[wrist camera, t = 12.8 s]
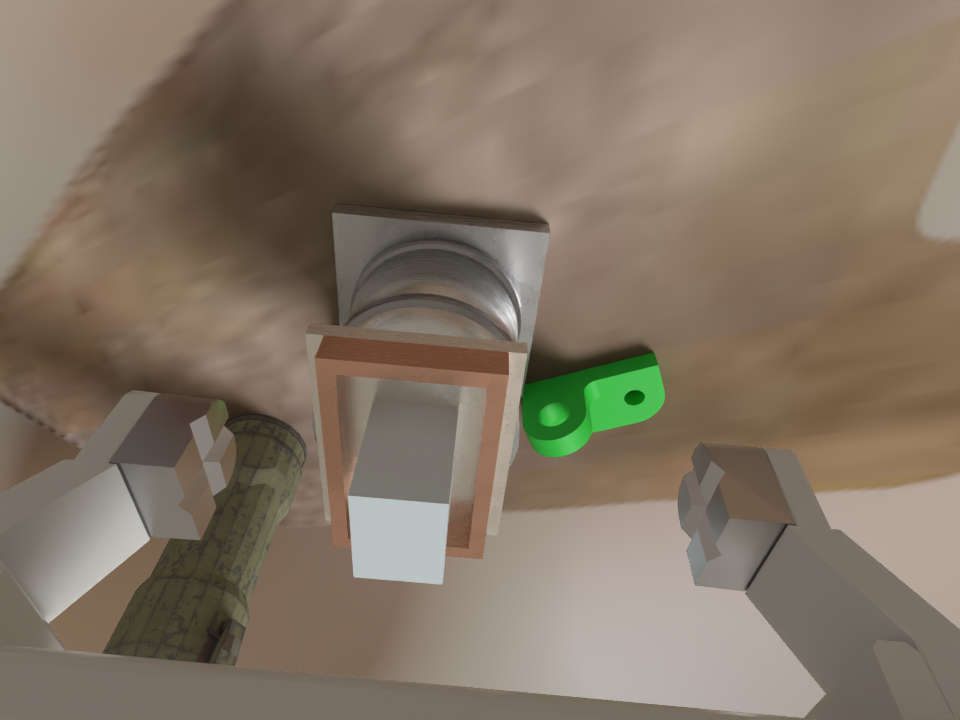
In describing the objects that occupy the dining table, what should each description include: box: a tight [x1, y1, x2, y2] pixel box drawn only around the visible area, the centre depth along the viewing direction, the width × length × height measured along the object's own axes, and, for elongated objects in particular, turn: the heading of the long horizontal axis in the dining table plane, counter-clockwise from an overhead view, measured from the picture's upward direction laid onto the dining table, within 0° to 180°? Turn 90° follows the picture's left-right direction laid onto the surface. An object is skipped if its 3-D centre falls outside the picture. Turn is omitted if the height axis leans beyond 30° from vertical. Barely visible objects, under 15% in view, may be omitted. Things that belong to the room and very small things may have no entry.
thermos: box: [102, 415, 307, 666], centre depth 49 cm, size 9×12×35 cm
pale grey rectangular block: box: [348, 402, 458, 584], centre depth 36 cm, size 5×9×7 cm, turn 175°
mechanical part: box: [522, 352, 665, 457], centre depth 54 cm, size 12×6×8 cm, turn 110°
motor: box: [305, 204, 550, 559], centre depth 44 cm, size 16×16×19 cm
